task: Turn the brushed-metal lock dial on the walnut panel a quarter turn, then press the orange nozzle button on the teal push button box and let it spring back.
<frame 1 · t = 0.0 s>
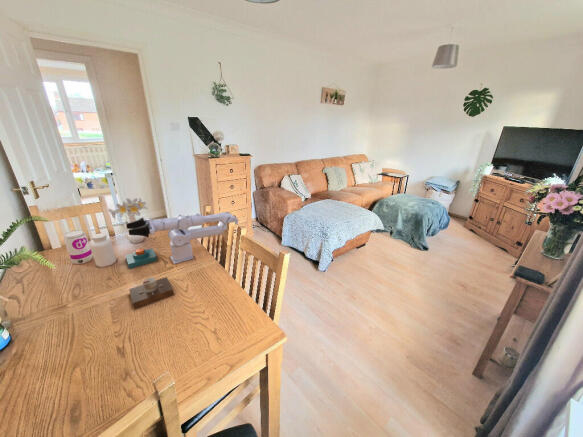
hand: (127, 229, 104), 22 cm above the table, tool horizontal, fingers open, 7 cm apart
flower vase: (136, 241, 138), on the table
push button box: (142, 260, 120), on the table
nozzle: (139, 251, 118), point 5 cm above the table, slide at 0.2 cm
lock panel: (152, 294, 98), on the table
pill bottle: (106, 263, 117), on the table
supplement can: (83, 260, 118), on the table
lock dial: (150, 284, 96), point 5 cm above the table, hinge at 0.0°
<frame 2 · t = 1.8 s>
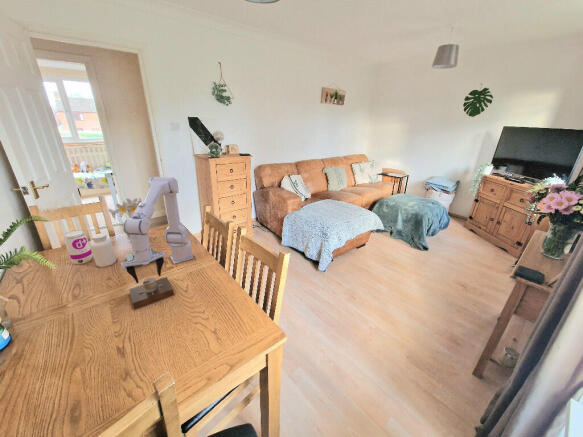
hand: (148, 278, 94), 8 cm above the table, tool pointing down, fingers open, 7 cm apart
nothing on the table moved.
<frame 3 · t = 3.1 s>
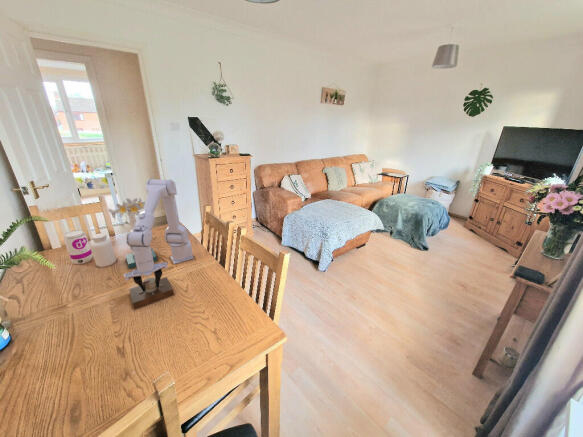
hand: (150, 288, 96), 4 cm above the table, tool pointing down, fingers closed on lock dial, 4 cm apart
lock dial: (150, 284, 96), point 5 cm above the table, hinge at 0.1°, touching gripper
everything else where it was.
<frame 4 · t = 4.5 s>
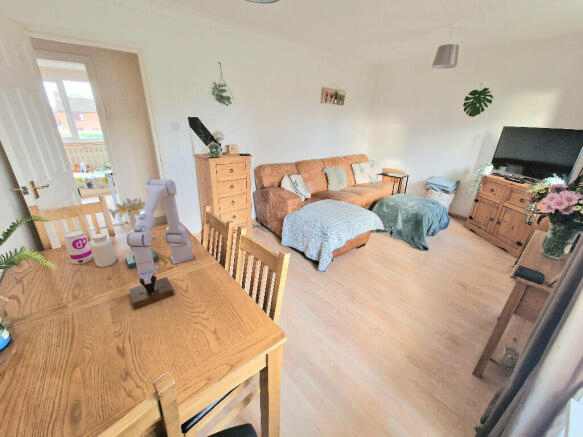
hand: (150, 288, 96), 3 cm above the table, tool pointing down, fingers closed on lock dial, 4 cm apart
lock dial: (150, 284, 96), point 5 cm above the table, hinge at 82.6°, touching gripper
everything else where it was.
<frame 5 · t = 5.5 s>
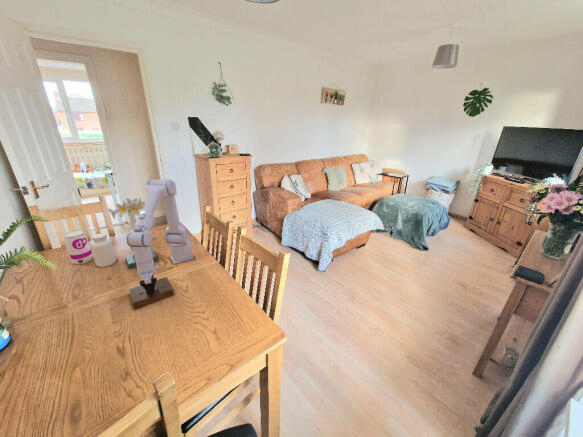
hand: (150, 288, 96), 3 cm above the table, tool pointing down, fingers open, 7 cm apart
lock dial: (150, 284, 96), point 5 cm above the table, hinge at 82.2°
everything else where it was.
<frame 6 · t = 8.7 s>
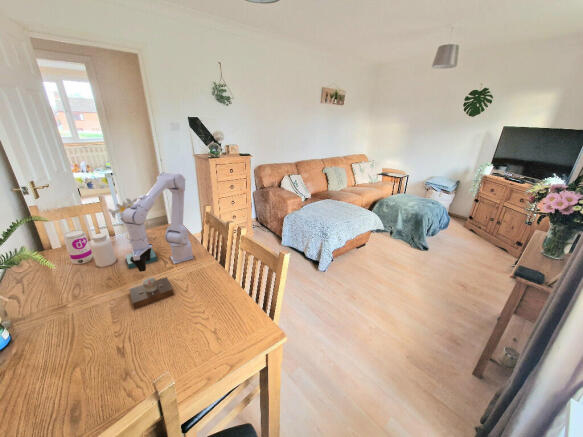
hand: (145, 265, 101), 9 cm above the table, tool pointing down, fingers open, 7 cm apart
nothing on the table moved.
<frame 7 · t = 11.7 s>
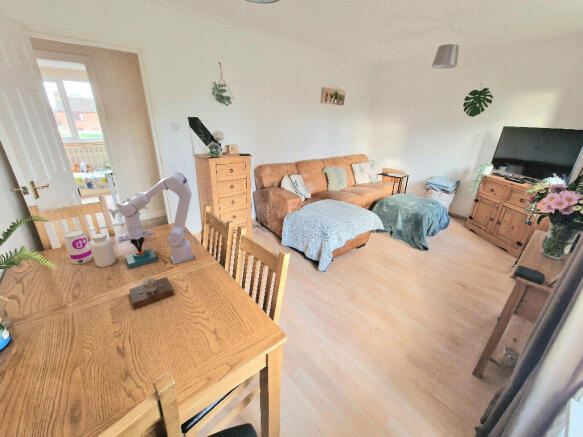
hand: (139, 251, 118), 5 cm above the table, tool pointing down, fingers closed, pressing on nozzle
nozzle: (140, 252, 119), point 4 cm above the table, slide at -0.4 cm, touching gripper
everything else where it was.
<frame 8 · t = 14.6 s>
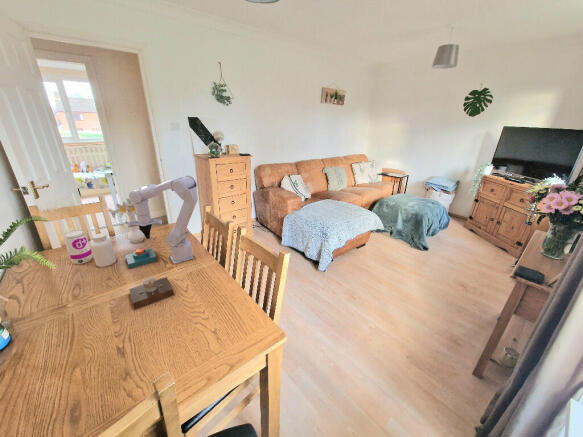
hand: (148, 238, 122), 10 cm above the table, tool pointing down, fingers closed
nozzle: (139, 251, 118), point 5 cm above the table, slide at 0.2 cm
everything else where it was.
at the end: lock dial at +82° (first picture: +0°); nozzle pushed in 1.2 cm at the most during the clip, back to 0.2 cm at the end; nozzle slide at 0.2 cm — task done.
